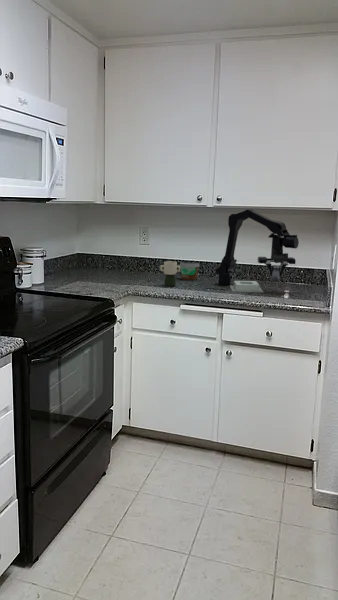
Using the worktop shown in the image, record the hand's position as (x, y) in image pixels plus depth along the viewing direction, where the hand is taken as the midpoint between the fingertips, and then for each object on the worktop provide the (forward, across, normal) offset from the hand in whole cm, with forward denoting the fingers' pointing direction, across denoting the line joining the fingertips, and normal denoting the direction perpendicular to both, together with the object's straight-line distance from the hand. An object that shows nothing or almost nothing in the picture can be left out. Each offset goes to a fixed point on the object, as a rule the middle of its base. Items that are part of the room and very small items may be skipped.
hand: (275, 276), depth 257 cm
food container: (+8, -45, +30) cm, 55 cm away
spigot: (+2, 0, 0) cm, 2 cm away
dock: (+8, -14, +5) cm, 17 cm away
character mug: (+8, -55, +10) cm, 57 cm away
